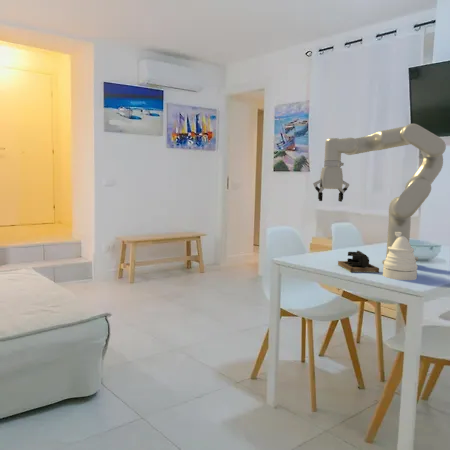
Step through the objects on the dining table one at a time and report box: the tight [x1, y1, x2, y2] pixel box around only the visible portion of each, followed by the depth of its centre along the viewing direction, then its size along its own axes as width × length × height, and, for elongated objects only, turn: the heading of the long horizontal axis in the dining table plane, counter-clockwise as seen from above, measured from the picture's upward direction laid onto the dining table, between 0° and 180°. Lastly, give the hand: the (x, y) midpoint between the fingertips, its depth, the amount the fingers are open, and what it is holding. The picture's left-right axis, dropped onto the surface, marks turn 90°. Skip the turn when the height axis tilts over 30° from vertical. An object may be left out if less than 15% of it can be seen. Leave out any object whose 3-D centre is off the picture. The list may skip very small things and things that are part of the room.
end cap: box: [346, 250, 370, 268], centre depth 195 cm, size 10×7×7 cm
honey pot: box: [382, 232, 418, 281], centre depth 180 cm, size 13×13×18 cm
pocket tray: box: [337, 260, 380, 273], centre depth 195 cm, size 12×15×2 cm
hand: (330, 201), depth 212 cm, fingers open, 9 cm apart
